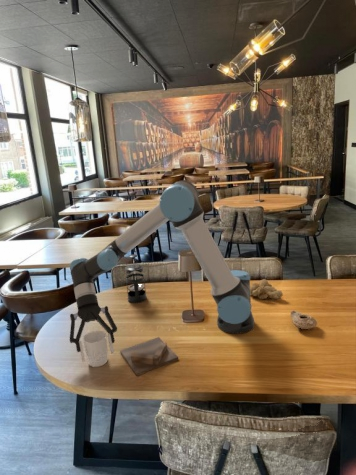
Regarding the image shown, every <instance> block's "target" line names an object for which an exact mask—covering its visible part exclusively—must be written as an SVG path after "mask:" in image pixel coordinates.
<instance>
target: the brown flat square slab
mask: <svg viewBox="0 0 356 475" xmlns="http://www.w3.org/2000/svg"><path fill="white" fill-rule="evenodd" d="M119 352H120V353H119V354H120V355H121V356H122V357H123V359H124V360H125V361H126V363H127V364H128V365H129V368H131V370H132V371H133V372H134V374H135V376H136V377H137V376H139V375H140V376H141V375H143V374H144V373H146V372H150V371H153V370H155V369H157V368H161V367H163V366H166V365H167V364H170V363H172V362H175V361H178V360H179V356H178V355H177V354H176V353H175V352H174V351H173V350H172V349H171V348H170V346H169V345H168V344H167V342H164V341H163V340H162V339H161V337H160V336H158V337H155V338H152V339H149V340H146V341H143V342H141V343H138V344H135V345H132V346H129V347H126V348H124V349H120V350H119Z"/></svg>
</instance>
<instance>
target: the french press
mask: <svg viewBox="0 0 356 475" xmlns="http://www.w3.org/2000/svg"><path fill="white" fill-rule="evenodd" d="M136 257H138V254H130V255H128V258H130V259H131V258H132V262H133V264H128V265H126V266H125V267H124V270H125V273H126V274H128V275H126V276H125V282H126V284H128V283H131V284H130V285H129V286H128V285H127V287H126V292H127V301H128V302H129V303H131V304H140V303H142V302H145V301H146V300H147V298H148V297H147V291H146V289H145V288H146V283H145V282H146V280H145V275H144V274H143V271H144V270H143V269H144V265H143V264H140V263H139V264H138V263H135V258H136ZM132 272H133V273H132ZM131 277H132V279H129V278H131ZM138 277H141V278H139V279H138ZM140 282H143V284H142V283H140Z"/></svg>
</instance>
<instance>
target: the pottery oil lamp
mask: <svg viewBox="0 0 356 475" xmlns="http://www.w3.org/2000/svg"><path fill="white" fill-rule="evenodd" d="M290 317H291V319H292V323H293V325H294V326H295V327H297V328H298V329H300V328H301V329H300V330H303V329H308V330H310V329H313V328H315V327H316V326H317V325H318V321H317V320H316V318H314V316H312V315H310V314H305V313H302V312H299V311H297V310H291V311H290Z"/></svg>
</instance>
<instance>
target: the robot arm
mask: <svg viewBox="0 0 356 475" xmlns="http://www.w3.org/2000/svg"><path fill="white" fill-rule="evenodd" d="M199 197H200V195H199V190H198V189H197V187H196V186H195V185H194V184H193V183H192V182H190V181H187V180H179V181H175V182H174V183H172V184H171V185H168V187H166V188H165V189H164V191H163V192H162V194H161V195H160V198H159V202H158V204H156V205H155V206H154V207H152V208H151V209H150V210H148V212H146V213H145V214H144V215H143V216H141V218H139V219H138V220H137V221H136V222H134V223H133V224H132V225H131V226H130V227H129V228H127V229H126V230H125V231H123V233H121V234H120V235H118V236H117V237H116V238H115V239H114V240H113V241H111V242H110V243H109V244H108V245H107V246H105V247H104V248H103V249H101V251H100V250H99V252H98V253H97V254H95V255H94V256H91V257H90V258H89V259H88V258H85V257H79V258H75V259H73V260H72V261H71V262H70V264H69V269H70V275H71V280H72V285H73V291H74V296H75V300H76V306H77V312H76V313H70V315H69V318H70V331H69V333H70V334H69V343H70V344H72V343H73V344H75V346H76V348H75V349H76V352H77V353H80V355H81V360H82V361H81V362H85V360H86V359H85V352H84V349H83V348H84V347H83V343H82V340H81V337H82V334H83V331H84V327H85V325H86V323H91V322H94V321H96V322H97V323H98V324H99V325H100V326H101V327H102V328H103V329H104V330H105V331H106V333H107V342H108V345H109V349H110V354H111V355H112V354H114V353H115V350H114V345H113V344H115V341H116V340H115V336H114V334H115V333H116V332H118V327H117V324H116V323H115V321H114V320H113V318H112V315H111V313H110V312H109V307H108V306H107V305H105V306H104V307H101V306H100V305H99V301H98V297H97V293H96V292H97V291H96V288H95V284H94V283H95V282H94V279H96V278H98V277H100V276H101V275H103V274H105V273H106V272H108V271H111V270H112V269H114V268H116V267H117V266H118V264H119V261H120V260H121V259H122V258H123V257H124V256H125V255H127V254H128V253H129V252H130V251H132V250H133V249H134V248H135V247H136V246H138V245H139V244H141V243H142V242H143V241H144V240H146V239H147V238H148V237H149V236H150V235H152V234H153V233H154V232H156V231H157V230H158V229H159V228H161V227H162V226H163V225H165V224H166V223H167V222H168V221H170V223H171V224H172V227H173V228H174V229H177V230H179V231H181V233H182V235H183V237H184V238H185V240H186V242H187V244H188V246H189V248H190V249H191V251H192V253H193V256H194V257H195V259H196V260H197V263H198V264H199V266H200V268H201V270H202V272H203V274H204V275H205V277H206V279H207V280H208V283H209V284H210V286H211V290H210V294H211V296H212V298H213V301H214V302H215V304H216V305H217V306H216V311H217V314H218V315H217V317H216V322H217V323H216V324H217V327H218V328H219V330H221V331H223V332H226V333H229V334H236V335H238V334H245V333H248V332H250V331H252V330H253V329H254V327H255V319H254V315H253V313H252V301H251V295H250V286H251V277H250V274H249V272H247V271H244V270H239V269H234V270H231V269H230V268H229V267H230V266H228V264H227V262H226V260H225V258H224V255H223V254H222V252H221V250H220V249H219V247H218V245H217V243H216V241H215V240H214V238H213V236H212V234H211V232H210V230H209V228H208V226H207V224H206V223H205V221H204V219H203V218H204V214H205V211H204V209H203V207H202V206H201V204H200V201H199ZM101 312H102V314H104V316H105V318H106V320H107V321H108V323H109V325H108V324H107V322H105V320H103V318H102V317H101V315H100V314H101ZM77 317H78V318H80V320H81V321H80V325H79V326H78V331H77V334H76V337H75V327H76V326H75V325H76V321H77V319H78V318H77ZM74 337H75V338H74Z"/></svg>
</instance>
